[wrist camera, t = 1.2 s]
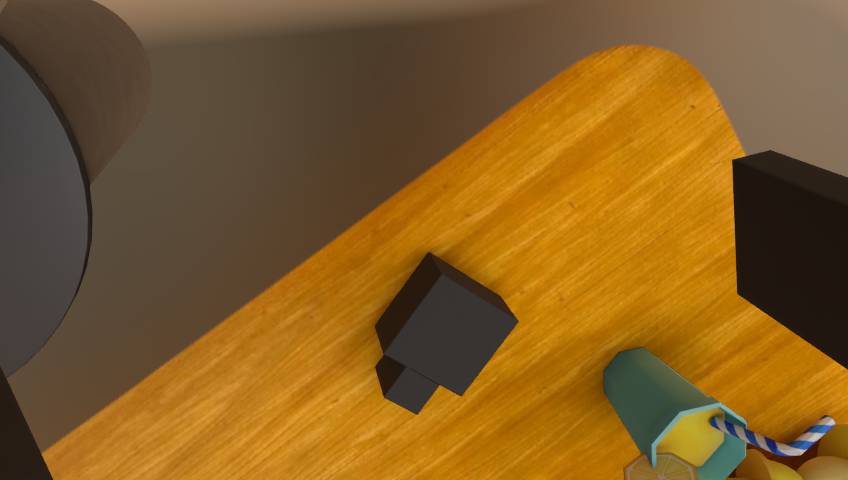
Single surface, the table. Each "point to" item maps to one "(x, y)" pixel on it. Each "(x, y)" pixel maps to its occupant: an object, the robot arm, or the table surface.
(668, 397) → the cup
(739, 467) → the toy
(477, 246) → the table surface
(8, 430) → the robot arm
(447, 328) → the tab pad
